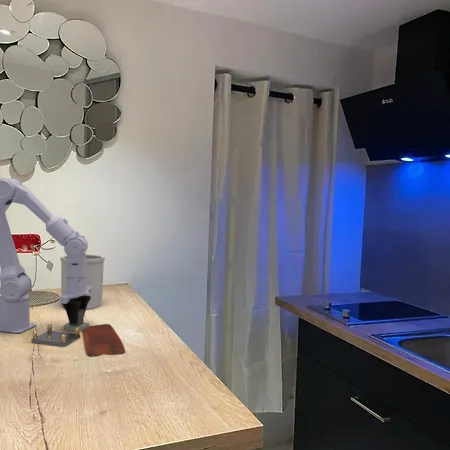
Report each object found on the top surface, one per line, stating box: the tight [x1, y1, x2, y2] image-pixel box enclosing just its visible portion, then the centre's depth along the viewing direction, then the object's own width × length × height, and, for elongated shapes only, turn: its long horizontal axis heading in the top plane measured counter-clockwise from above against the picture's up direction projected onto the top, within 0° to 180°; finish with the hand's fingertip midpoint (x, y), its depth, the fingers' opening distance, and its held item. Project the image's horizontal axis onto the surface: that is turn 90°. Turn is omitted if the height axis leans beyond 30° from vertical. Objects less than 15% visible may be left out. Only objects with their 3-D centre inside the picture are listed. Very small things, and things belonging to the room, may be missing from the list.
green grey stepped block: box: [63, 309, 90, 332], centre depth 141 cm, size 6×4×6 cm, turn 77°
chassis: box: [30, 323, 81, 348], centre depth 130 cm, size 10×8×3 cm
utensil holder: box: [59, 252, 106, 310], centre depth 166 cm, size 15×15×18 cm
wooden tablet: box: [81, 323, 126, 358], centre depth 133 cm, size 27×10×2 cm, turn 21°
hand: (76, 321), depth 141 cm, fingers closed on green grey stepped block, 3 cm apart
